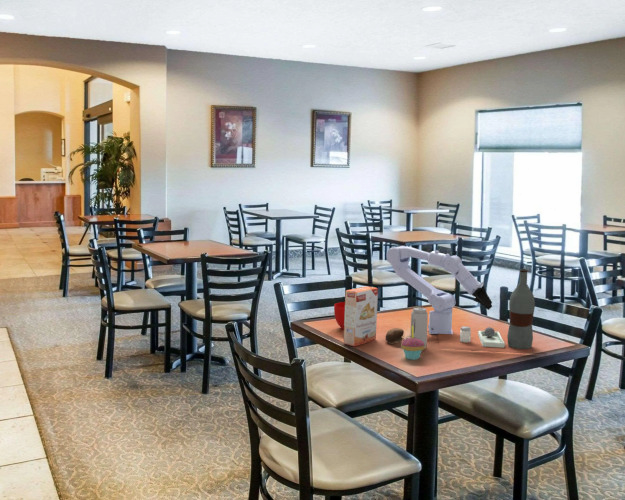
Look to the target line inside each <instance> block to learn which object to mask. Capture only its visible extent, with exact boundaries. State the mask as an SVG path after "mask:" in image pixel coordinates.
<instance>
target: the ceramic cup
mask: <svg viewBox="0 0 625 500" xmlns="http://www.w3.org/2000/svg"><path fill="white" fill-rule="evenodd" d="M333 311H334V313H333V314H334V317H335V322H336V323H337V324H338V327H340V329H341V330H343V331H344V319H345V301H341V302H336V303H334V305H333Z"/></svg>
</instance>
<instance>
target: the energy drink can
mask: <svg viewBox="0 0 625 500" xmlns="http://www.w3.org/2000/svg"><path fill="white" fill-rule="evenodd" d="M428 314H429V313H428V311H427V308H424V307H414V308H412V311H411V314H410V337H409V338H412V323H413V326H414V338H417V339H420V340H422V341H423V342H424V343H425V348H426V347H427V344H428V343H427V342H428V340H427V339H428V321H429V315H428Z"/></svg>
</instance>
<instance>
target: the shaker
mask: <svg viewBox="0 0 625 500" xmlns="http://www.w3.org/2000/svg"><path fill="white" fill-rule="evenodd" d="M459 331H460V333H459V342H461V343H465V344H466V343H471V336H472V334H471V333H472V330H471V327H470V326H466V325H465V326H461V327H460V330H459Z"/></svg>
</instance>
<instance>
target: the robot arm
mask: <svg viewBox="0 0 625 500" xmlns="http://www.w3.org/2000/svg"><path fill="white" fill-rule="evenodd" d="M410 258H415V259H418V260H424V261H427V263H428V264H429V265H430V266H434V267H438V268H440V269H443V270H444V271H446V272H449V273H451V274H452V275H453V277H454V278H455V279H456V280H457V281H458V282H459V284H460V285H461V286H462V287H463V288H464V289H465V290H466V292H467V293H468V295H469V296H473V297H474V298H473V301H474V302H476V303H478V304H480V305H481V306H482V307H484V308H485V309H487V311H488V310H490V309H491V308H493V305H492V304H493V301H492V300H491V298H490V297H489V295H488V293H487V291H486V288H485V285H484V284H485V283H484V282H483V281H481V282H479V281H478V280H477V279H476V278H475V276H473V274H472V273H471V272H470V271H469V270H468V269H467V267H466V266H465V265H464V264H463V261H462V258H461V257H460V256H458V255H456V254H455V255H450V253H446V254H445V253H442V252H440V250H433V251H431V252H428V251H424V250H421V249H418V248H415V247H411V246H405V245H401V246H394V247H393V246H392V247H390V248H388V250H387V251H386V261H387V262H388V263H389V264H390V265H391V268H392V269H393V272H395V274H396V275H397V276H398V277H399V278H401V279H402V280H403V281H405V282H406V283H407V284H408V285H410V286H411V287H412V288H414V289H415V290H416V291H417V292H419V293H420V294H421V295H423V296H424V297H425V298H427V300H428V301H427V302H428V304H429V305H431V307H432V308H433V310H429V313H428V314H429V315H428V323H427V330H428V334H429V335H439V334H444V335H453V334H454V333H453V327H452V326H453V308H454V307H455V305H456V303H457V302H456V298H455V296H454V295H453V294H451V293H447V292H446V291H444V290H441V289H438V288H436V287H435V286H434V285H432V284H431V283H429V282H428V281H427V280H425V279H424V278H423V277H421V276H420V275H419V274H417V273H416V272H415V271H414V270H413V269H411V268H409V263H410Z"/></svg>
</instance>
